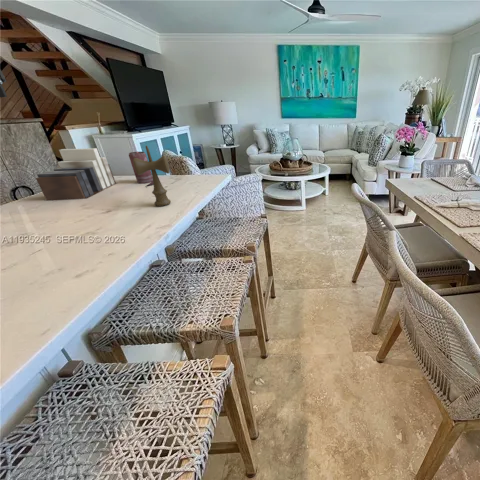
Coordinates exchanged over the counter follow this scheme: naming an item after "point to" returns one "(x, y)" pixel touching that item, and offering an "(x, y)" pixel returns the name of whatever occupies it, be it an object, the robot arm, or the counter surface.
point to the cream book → (83, 156)
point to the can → (145, 176)
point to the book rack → (74, 180)
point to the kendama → (154, 175)
